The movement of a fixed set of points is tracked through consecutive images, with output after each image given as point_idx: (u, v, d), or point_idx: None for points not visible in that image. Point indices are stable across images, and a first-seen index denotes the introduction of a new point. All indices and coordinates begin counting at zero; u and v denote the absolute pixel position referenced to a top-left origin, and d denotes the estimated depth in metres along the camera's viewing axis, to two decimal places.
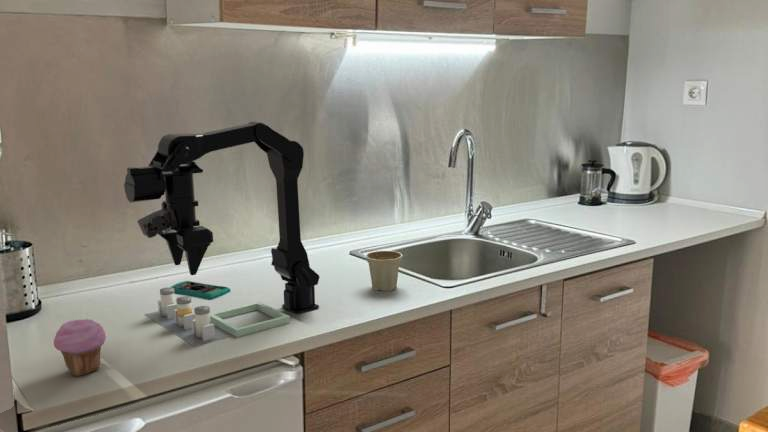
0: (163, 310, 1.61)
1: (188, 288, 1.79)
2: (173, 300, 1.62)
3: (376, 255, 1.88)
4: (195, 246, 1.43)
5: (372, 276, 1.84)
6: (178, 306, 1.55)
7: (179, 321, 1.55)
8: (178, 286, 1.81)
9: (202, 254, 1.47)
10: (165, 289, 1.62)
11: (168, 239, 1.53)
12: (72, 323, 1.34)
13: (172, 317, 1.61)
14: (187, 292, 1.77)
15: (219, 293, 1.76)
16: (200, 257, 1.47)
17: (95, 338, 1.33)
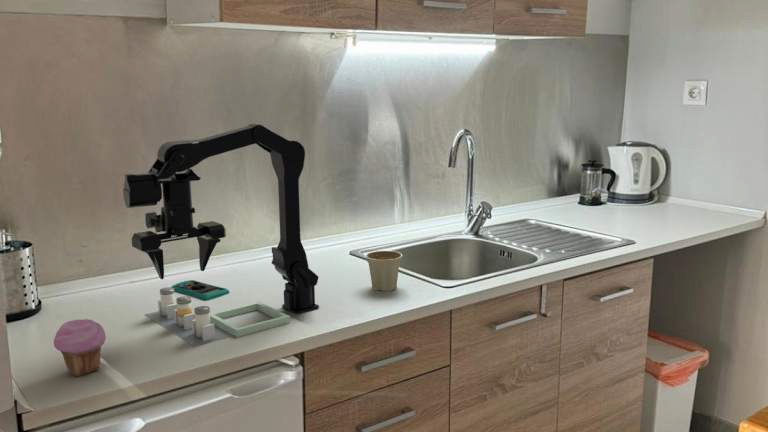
0: (163, 310, 1.61)
1: (189, 287, 1.80)
2: (173, 300, 1.62)
3: (376, 255, 1.88)
4: None
5: (372, 276, 1.84)
6: (178, 306, 1.55)
7: (179, 321, 1.55)
8: (181, 285, 1.82)
9: (156, 261, 1.49)
10: (165, 289, 1.62)
11: (199, 243, 1.58)
12: (72, 323, 1.34)
13: (172, 317, 1.61)
14: (186, 291, 1.78)
15: (215, 294, 1.75)
16: (157, 264, 1.49)
17: (95, 338, 1.33)
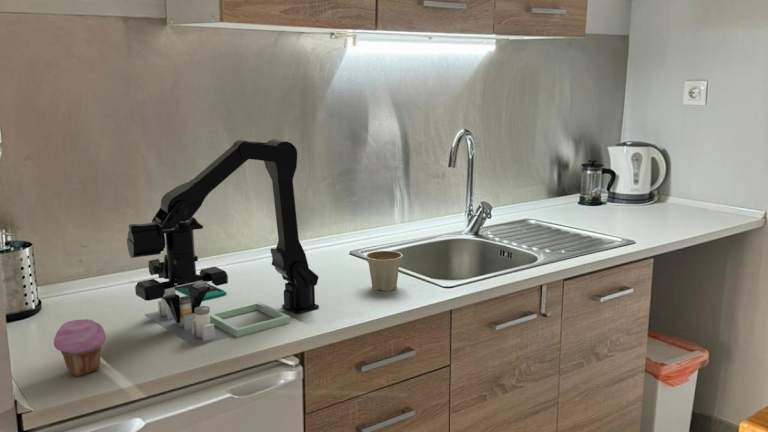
0: (163, 310, 1.61)
1: None
2: None
3: (376, 255, 1.88)
4: None
5: (372, 276, 1.84)
6: None
7: None
8: None
9: (173, 307, 1.52)
10: None
11: (189, 292, 1.58)
12: (72, 323, 1.34)
13: (172, 317, 1.61)
14: (186, 291, 1.78)
15: (210, 296, 1.74)
16: (173, 309, 1.53)
17: (95, 338, 1.33)
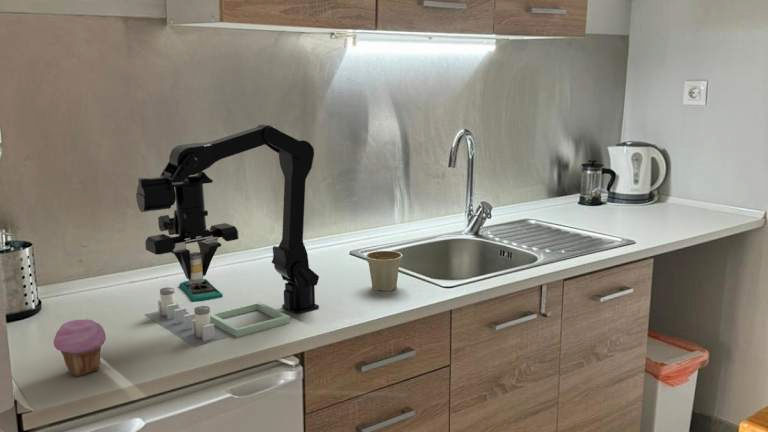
0: (163, 310, 1.61)
1: (192, 286, 1.81)
2: (173, 300, 1.62)
3: (376, 255, 1.88)
4: None
5: (372, 276, 1.84)
6: None
7: None
8: (190, 283, 1.84)
9: (183, 262, 1.51)
10: (165, 289, 1.62)
11: (200, 248, 1.56)
12: (72, 323, 1.34)
13: (172, 317, 1.61)
14: (186, 290, 1.79)
15: (204, 297, 1.73)
16: (184, 264, 1.51)
17: (95, 338, 1.33)
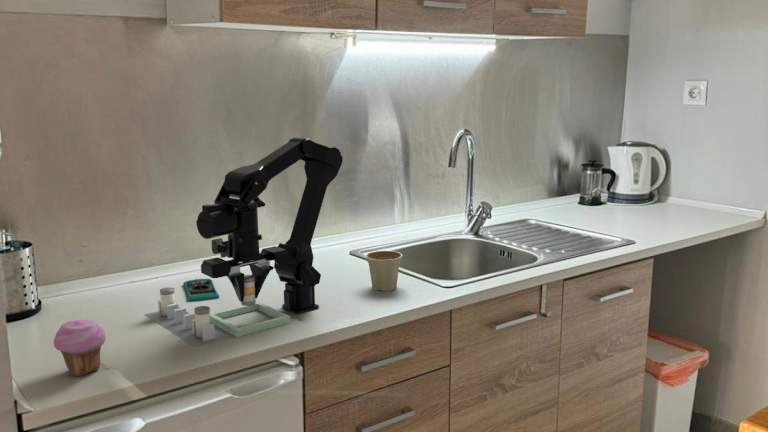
0: (163, 310, 1.61)
1: (194, 286, 1.81)
2: (173, 300, 1.62)
3: (376, 255, 1.88)
4: None
5: (372, 276, 1.84)
6: None
7: None
8: (193, 282, 1.84)
9: (237, 285, 1.54)
10: (165, 289, 1.62)
11: (252, 271, 1.59)
12: (72, 323, 1.34)
13: (172, 317, 1.61)
14: (186, 289, 1.79)
15: (200, 297, 1.73)
16: (237, 287, 1.54)
17: (95, 338, 1.33)
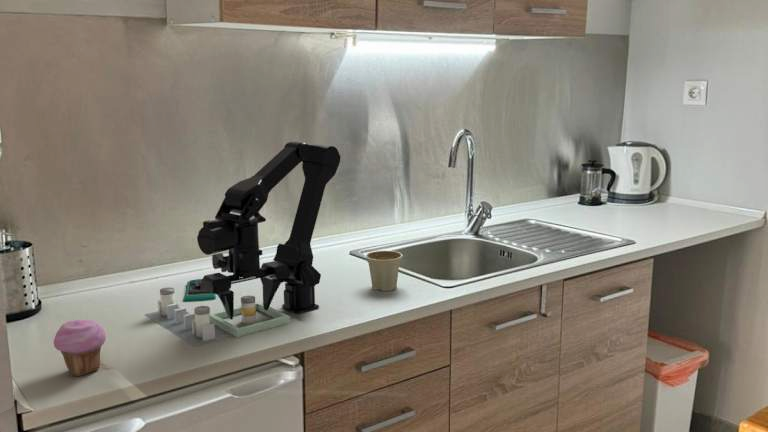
0: (163, 310, 1.61)
1: (195, 285, 1.81)
2: (173, 300, 1.62)
3: (376, 255, 1.88)
4: None
5: (372, 276, 1.84)
6: (243, 305, 1.57)
7: (243, 320, 1.58)
8: (197, 281, 1.85)
9: (227, 303, 1.53)
10: (165, 289, 1.62)
11: (263, 283, 1.61)
12: (72, 323, 1.34)
13: (172, 317, 1.61)
14: (187, 289, 1.80)
15: (196, 297, 1.73)
16: (227, 305, 1.53)
17: (95, 338, 1.33)
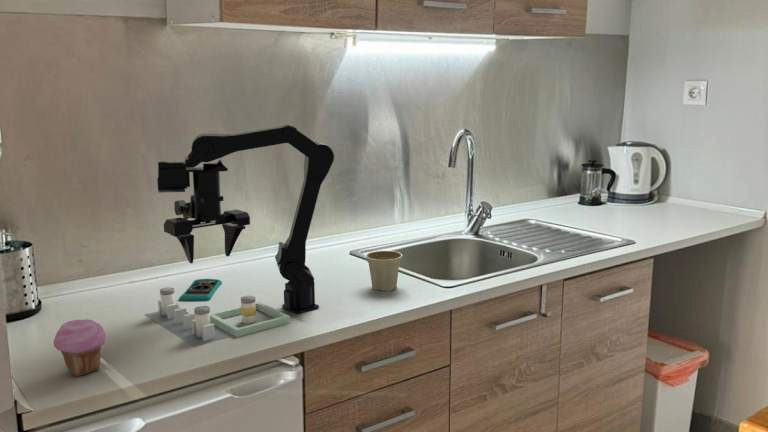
0: (163, 310, 1.61)
1: (197, 285, 1.82)
2: (173, 300, 1.62)
3: (376, 255, 1.88)
4: (174, 235, 1.57)
5: (372, 276, 1.84)
6: (243, 305, 1.57)
7: (243, 320, 1.58)
8: (202, 281, 1.85)
9: (187, 246, 1.58)
10: (165, 289, 1.62)
11: (224, 230, 1.67)
12: (72, 323, 1.34)
13: (172, 317, 1.61)
14: (188, 288, 1.80)
15: (190, 297, 1.73)
16: (187, 248, 1.58)
17: (95, 338, 1.33)
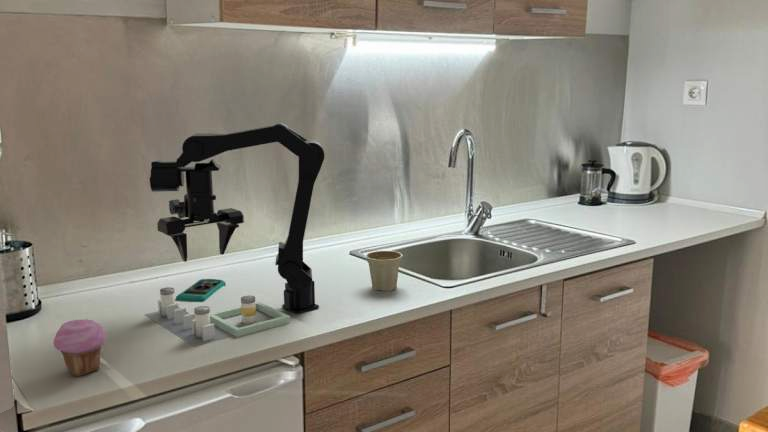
0: (163, 310, 1.61)
1: (199, 285, 1.82)
2: (173, 300, 1.62)
3: (376, 255, 1.88)
4: None
5: (372, 276, 1.84)
6: (243, 305, 1.57)
7: (243, 320, 1.58)
8: (206, 281, 1.85)
9: (180, 245, 1.60)
10: (165, 289, 1.62)
11: (219, 229, 1.69)
12: (72, 323, 1.34)
13: (172, 317, 1.61)
14: None
15: (185, 297, 1.73)
16: (181, 247, 1.60)
17: (95, 338, 1.33)
